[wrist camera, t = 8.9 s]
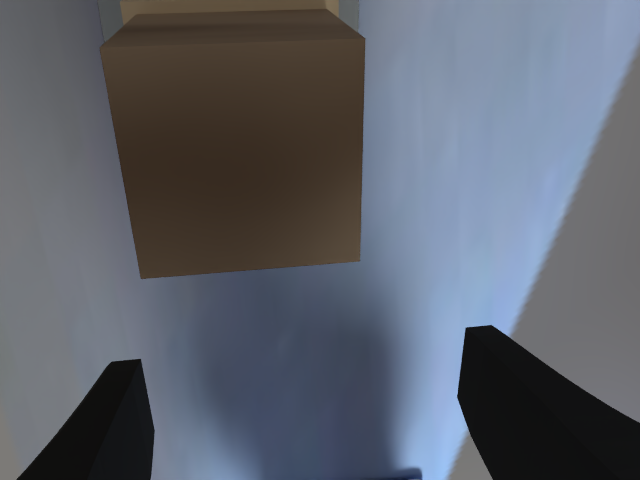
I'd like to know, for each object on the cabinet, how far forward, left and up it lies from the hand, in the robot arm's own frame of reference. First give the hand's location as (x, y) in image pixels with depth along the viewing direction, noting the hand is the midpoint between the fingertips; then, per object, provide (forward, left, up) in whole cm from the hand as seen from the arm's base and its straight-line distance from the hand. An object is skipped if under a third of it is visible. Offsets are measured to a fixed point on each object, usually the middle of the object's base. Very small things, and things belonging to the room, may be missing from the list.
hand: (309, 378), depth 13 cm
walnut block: (+5, +1, -5) cm, 7 cm away
